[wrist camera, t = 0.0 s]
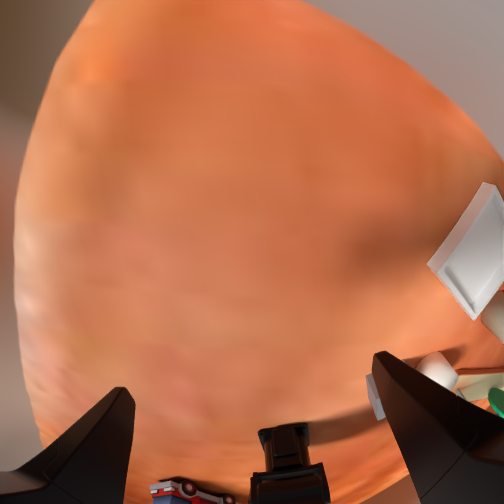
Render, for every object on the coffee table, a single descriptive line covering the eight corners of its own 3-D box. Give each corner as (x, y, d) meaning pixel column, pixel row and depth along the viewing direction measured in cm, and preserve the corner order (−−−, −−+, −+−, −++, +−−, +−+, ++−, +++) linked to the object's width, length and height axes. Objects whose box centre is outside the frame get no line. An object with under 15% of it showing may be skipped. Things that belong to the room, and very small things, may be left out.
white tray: (465, 312, 26) (474, 320, 24) (426, 264, 24) (436, 272, 22) (513, 243, 23) (523, 249, 21) (482, 181, 21) (495, 185, 19)
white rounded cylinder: (438, 370, 30) (452, 392, 26) (412, 380, 30) (425, 404, 26) (445, 347, 28) (462, 368, 24) (418, 357, 28) (434, 381, 24)
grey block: (403, 382, 30) (414, 404, 26) (368, 397, 30) (377, 420, 27) (403, 358, 28) (416, 380, 25) (365, 374, 29) (376, 399, 25)
